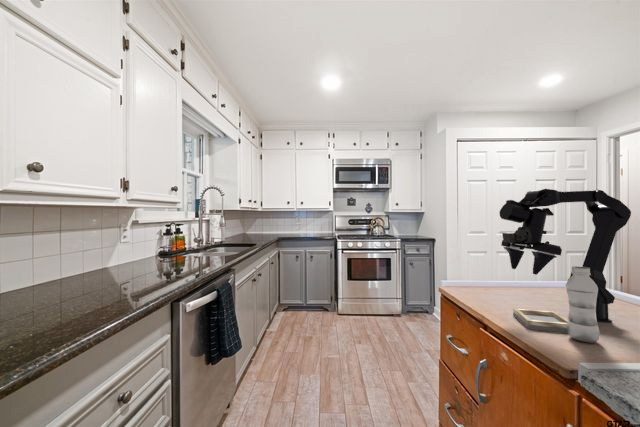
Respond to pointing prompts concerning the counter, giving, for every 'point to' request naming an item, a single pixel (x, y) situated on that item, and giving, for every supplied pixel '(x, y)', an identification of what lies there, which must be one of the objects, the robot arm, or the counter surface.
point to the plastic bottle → (582, 306)
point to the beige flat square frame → (541, 320)
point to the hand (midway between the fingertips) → (523, 271)
